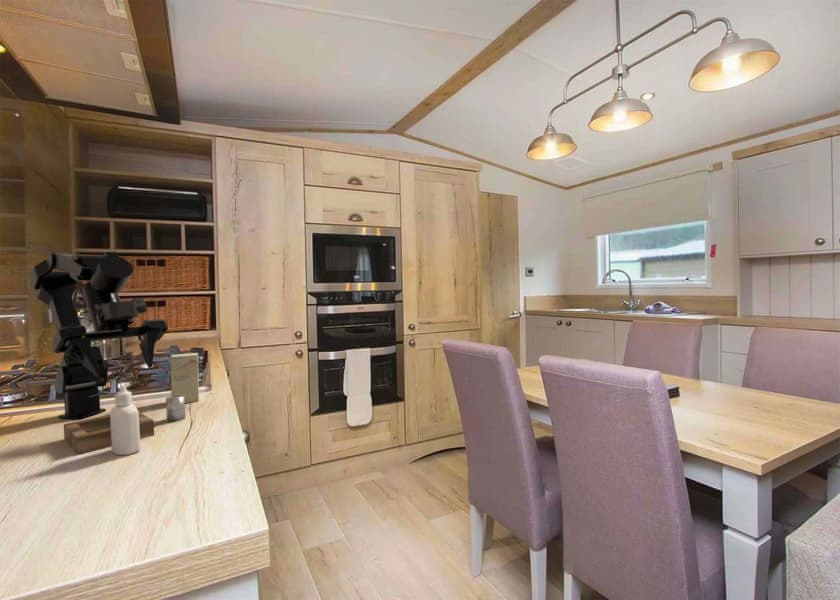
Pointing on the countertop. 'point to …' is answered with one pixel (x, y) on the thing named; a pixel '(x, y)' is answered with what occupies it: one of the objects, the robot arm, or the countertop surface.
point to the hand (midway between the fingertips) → (125, 371)
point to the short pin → (175, 408)
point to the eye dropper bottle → (124, 424)
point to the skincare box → (185, 376)
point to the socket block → (99, 432)
